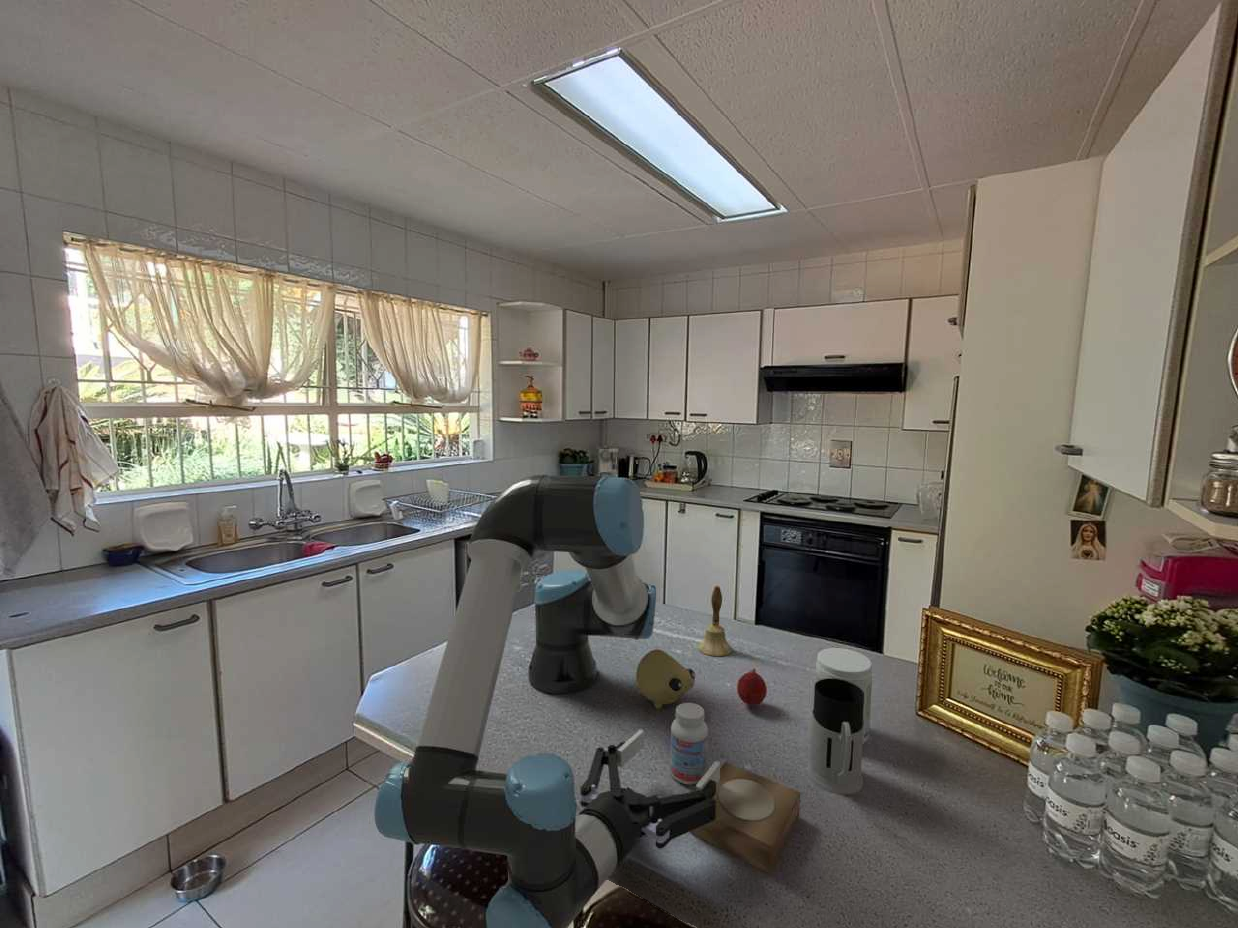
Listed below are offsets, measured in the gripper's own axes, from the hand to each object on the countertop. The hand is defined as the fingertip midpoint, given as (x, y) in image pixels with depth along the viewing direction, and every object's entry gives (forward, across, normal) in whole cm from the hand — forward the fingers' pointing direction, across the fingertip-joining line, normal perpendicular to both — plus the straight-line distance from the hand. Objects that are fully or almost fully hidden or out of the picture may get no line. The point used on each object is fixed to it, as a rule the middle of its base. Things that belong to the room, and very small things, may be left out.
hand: (678, 752), depth 87 cm
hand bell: (+48, -17, -7) cm, 51 cm away
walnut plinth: (-1, +12, -6) cm, 13 cm away
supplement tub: (+30, +18, -6) cm, 36 cm away
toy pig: (+20, -14, -6) cm, 26 cm away
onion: (+29, 0, -6) cm, 30 cm away
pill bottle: (+4, 0, -6) cm, 8 cm away
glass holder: (+15, +21, -6) cm, 27 cm away
